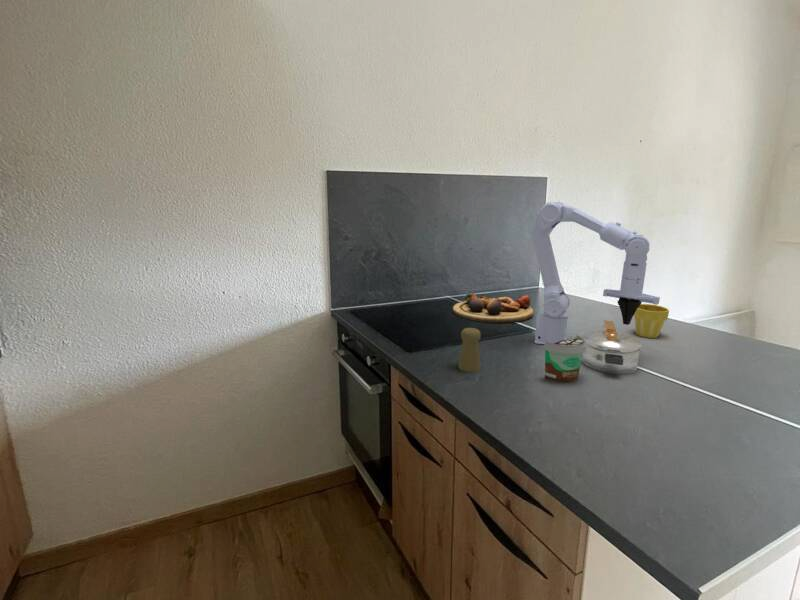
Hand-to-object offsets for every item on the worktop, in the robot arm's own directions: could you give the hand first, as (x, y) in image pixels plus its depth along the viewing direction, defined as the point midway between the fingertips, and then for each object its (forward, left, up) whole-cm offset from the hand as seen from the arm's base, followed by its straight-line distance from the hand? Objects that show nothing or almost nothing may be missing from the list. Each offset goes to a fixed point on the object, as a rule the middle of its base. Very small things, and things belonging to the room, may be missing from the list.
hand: (626, 323), depth 126 cm
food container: (-16, -25, -10) cm, 31 cm away
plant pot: (+10, +24, -10) cm, 28 cm away
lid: (-5, -7, -3) cm, 9 cm away
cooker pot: (-5, -10, -9) cm, 15 cm away
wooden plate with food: (-43, +34, -10) cm, 56 cm away
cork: (-41, -27, -10) cm, 50 cm away
